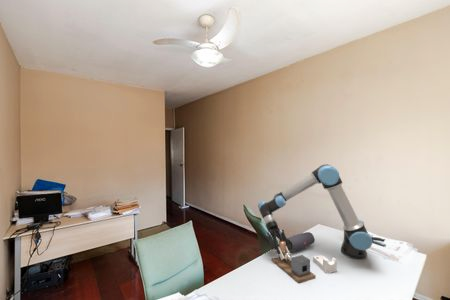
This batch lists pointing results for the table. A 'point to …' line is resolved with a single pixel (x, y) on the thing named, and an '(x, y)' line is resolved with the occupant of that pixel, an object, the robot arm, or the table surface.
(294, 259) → the bearing block
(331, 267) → the bracket
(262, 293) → the table surface
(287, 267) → the walnut board
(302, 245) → the bluetooth speaker
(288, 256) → the shaft
